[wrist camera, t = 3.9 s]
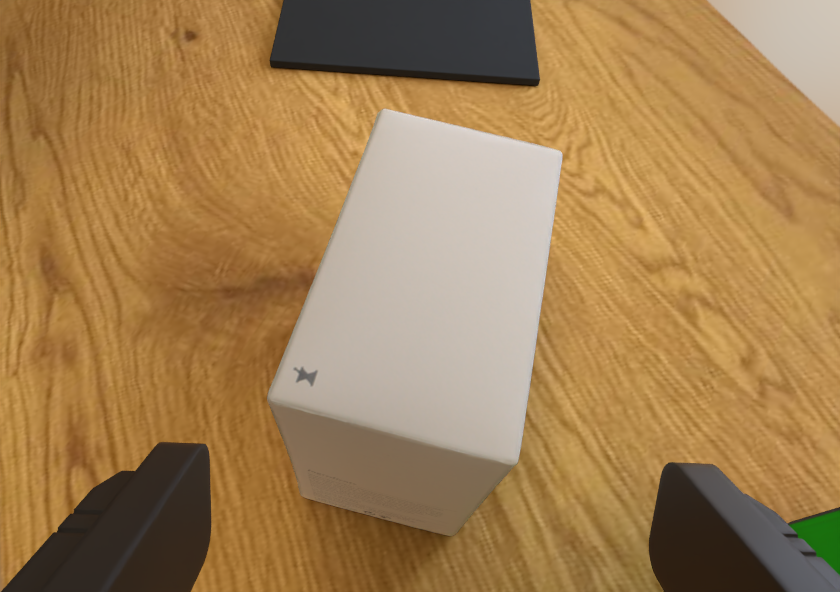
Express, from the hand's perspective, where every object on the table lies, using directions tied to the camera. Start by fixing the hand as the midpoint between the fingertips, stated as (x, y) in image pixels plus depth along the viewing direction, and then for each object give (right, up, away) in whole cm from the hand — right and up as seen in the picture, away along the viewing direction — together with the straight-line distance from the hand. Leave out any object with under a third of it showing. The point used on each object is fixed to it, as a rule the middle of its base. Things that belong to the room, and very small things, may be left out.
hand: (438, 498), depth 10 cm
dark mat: (-1, +22, +28) cm, 35 cm away
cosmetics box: (-1, -1, +15) cm, 15 cm away
